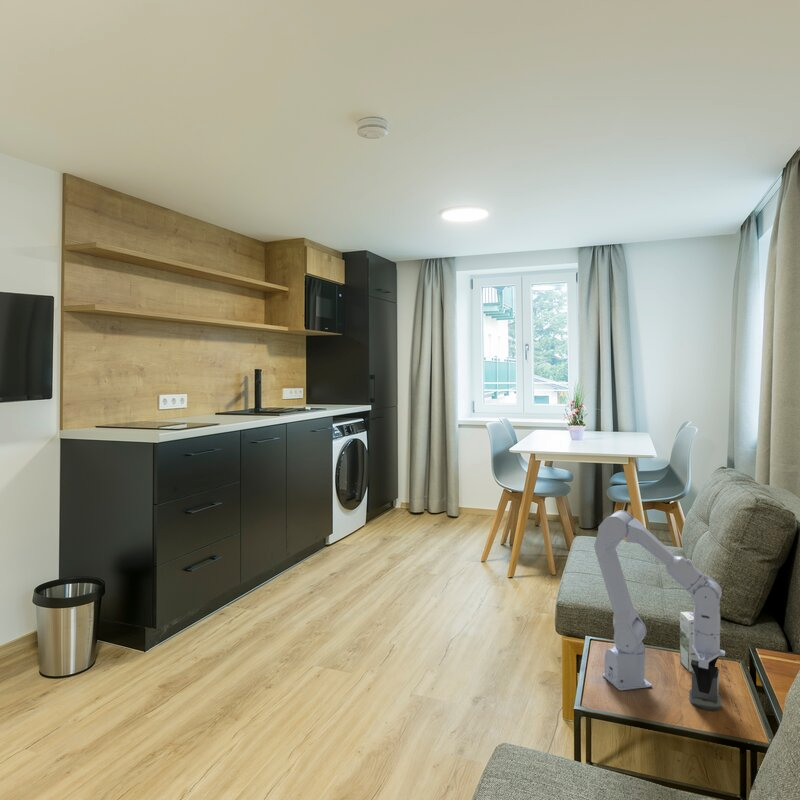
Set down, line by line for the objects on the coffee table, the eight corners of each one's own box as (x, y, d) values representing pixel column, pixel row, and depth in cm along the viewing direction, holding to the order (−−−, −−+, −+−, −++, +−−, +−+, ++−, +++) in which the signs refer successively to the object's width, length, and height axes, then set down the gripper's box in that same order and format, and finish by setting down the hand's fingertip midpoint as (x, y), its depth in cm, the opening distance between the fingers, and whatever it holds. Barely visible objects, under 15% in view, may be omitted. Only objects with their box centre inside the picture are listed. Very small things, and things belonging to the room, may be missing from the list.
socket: (691, 696, 140) (692, 672, 140) (694, 686, 145) (694, 663, 144) (716, 703, 137) (717, 678, 137) (718, 693, 142) (719, 669, 141)
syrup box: (710, 672, 156) (711, 619, 155) (688, 672, 156) (689, 619, 155) (699, 662, 161) (700, 611, 161) (678, 662, 162) (679, 611, 161)
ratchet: (720, 714, 136) (720, 693, 136) (687, 705, 140) (688, 685, 140) (724, 687, 148) (724, 668, 148) (694, 679, 152) (694, 660, 152)
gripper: (723, 645, 132) (722, 703, 132) (727, 623, 144) (726, 677, 145) (689, 638, 136) (688, 694, 136) (695, 617, 148) (694, 669, 149)
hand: (705, 685), depth 141 cm, fingers open, 7 cm apart
